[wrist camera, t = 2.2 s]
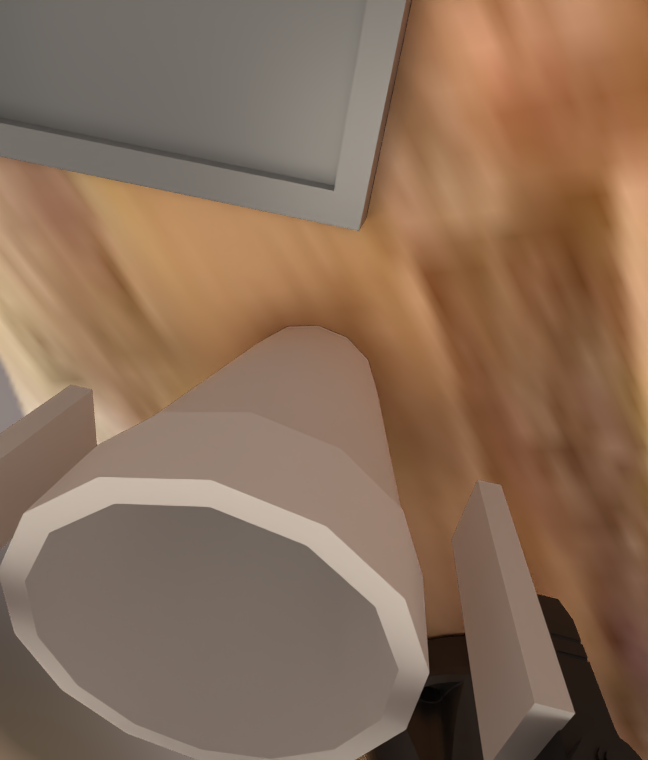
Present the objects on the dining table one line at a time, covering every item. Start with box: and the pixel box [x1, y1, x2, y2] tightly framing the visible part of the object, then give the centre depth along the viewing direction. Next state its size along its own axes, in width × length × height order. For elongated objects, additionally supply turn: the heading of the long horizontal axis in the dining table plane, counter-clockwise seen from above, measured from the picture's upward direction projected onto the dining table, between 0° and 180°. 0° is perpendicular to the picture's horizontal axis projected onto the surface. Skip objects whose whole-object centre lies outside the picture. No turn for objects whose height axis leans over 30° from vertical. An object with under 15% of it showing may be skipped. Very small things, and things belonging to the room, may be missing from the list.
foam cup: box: [0, 326, 430, 760], centre depth 15 cm, size 10×9×13 cm
